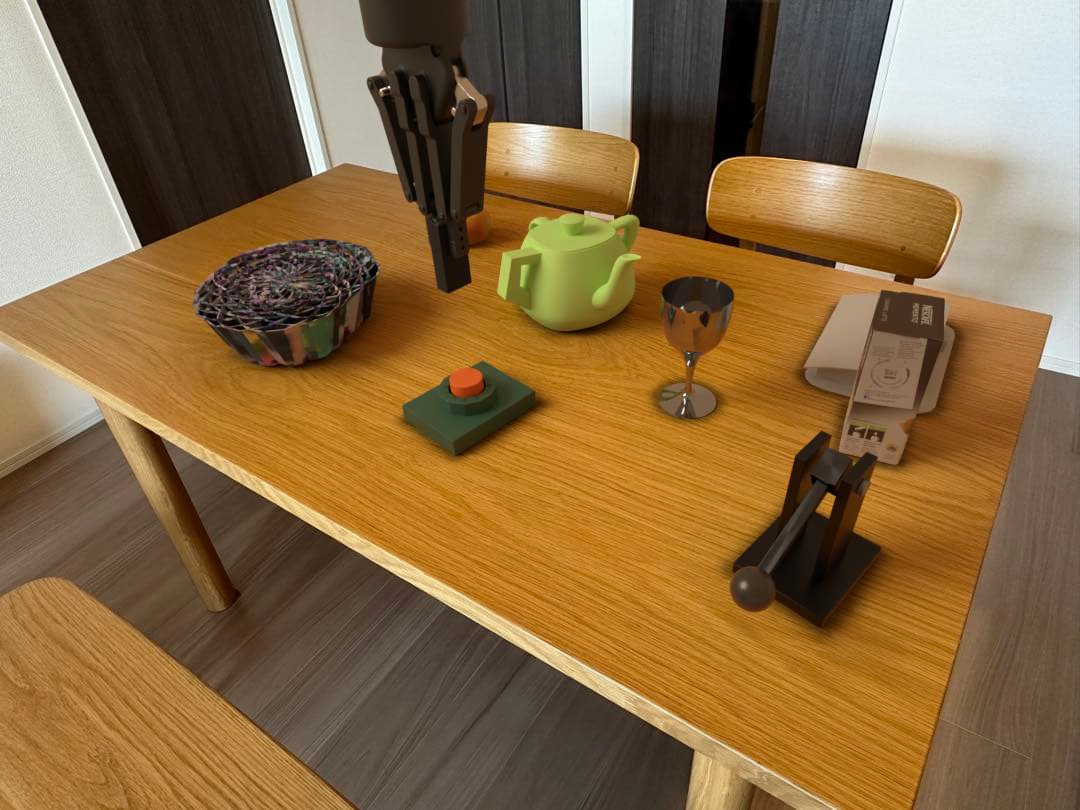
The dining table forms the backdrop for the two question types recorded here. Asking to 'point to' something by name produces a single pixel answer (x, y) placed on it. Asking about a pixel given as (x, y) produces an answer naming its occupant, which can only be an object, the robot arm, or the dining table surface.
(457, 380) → the button
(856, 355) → the white open box
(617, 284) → the teapot
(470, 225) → the fruit
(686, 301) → the wine glass
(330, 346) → the decorative bowl
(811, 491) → the lever
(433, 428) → the button box
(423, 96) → the robot arm
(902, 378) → the coffee box
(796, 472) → the bracket
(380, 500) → the dining table surface
